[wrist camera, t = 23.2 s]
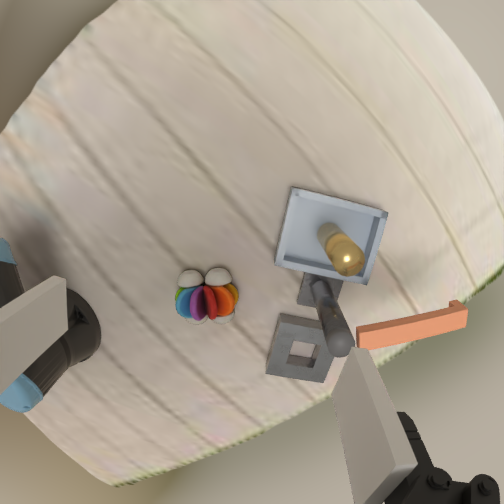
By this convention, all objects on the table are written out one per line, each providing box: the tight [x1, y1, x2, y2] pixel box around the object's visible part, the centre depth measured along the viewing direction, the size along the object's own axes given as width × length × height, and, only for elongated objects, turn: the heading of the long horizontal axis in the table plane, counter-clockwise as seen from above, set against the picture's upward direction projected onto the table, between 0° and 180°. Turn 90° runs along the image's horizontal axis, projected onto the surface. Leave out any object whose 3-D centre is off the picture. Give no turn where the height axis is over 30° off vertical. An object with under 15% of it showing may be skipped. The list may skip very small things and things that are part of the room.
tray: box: [274, 186, 388, 285], centre depth 45 cm, size 14×11×3 cm
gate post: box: [297, 272, 351, 340], centre depth 41 cm, size 6×6×16 cm
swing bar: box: [326, 300, 468, 357], centre depth 33 cm, size 3×18×3 cm, turn 99°
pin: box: [317, 223, 365, 277], centre depth 40 cm, size 4×4×13 cm
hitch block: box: [266, 313, 334, 383], centre depth 50 cm, size 10×10×3 cm
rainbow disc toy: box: [175, 268, 239, 325], centre depth 47 cm, size 8×10×7 cm
